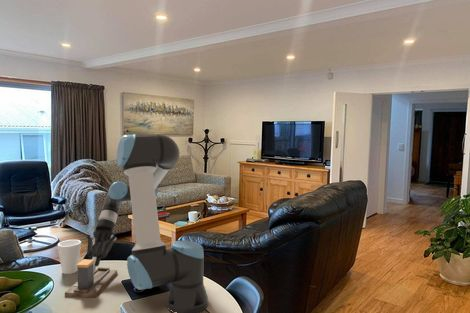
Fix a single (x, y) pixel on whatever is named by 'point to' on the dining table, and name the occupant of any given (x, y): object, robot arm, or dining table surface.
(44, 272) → the dining table surface
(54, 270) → the dining table surface
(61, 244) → the foam cup
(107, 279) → the brown wooden flat board
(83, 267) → the fader tab
